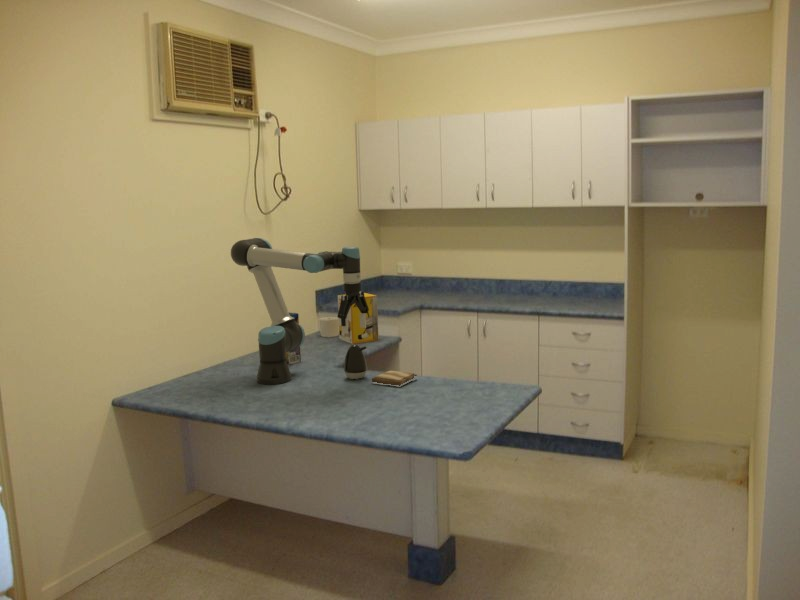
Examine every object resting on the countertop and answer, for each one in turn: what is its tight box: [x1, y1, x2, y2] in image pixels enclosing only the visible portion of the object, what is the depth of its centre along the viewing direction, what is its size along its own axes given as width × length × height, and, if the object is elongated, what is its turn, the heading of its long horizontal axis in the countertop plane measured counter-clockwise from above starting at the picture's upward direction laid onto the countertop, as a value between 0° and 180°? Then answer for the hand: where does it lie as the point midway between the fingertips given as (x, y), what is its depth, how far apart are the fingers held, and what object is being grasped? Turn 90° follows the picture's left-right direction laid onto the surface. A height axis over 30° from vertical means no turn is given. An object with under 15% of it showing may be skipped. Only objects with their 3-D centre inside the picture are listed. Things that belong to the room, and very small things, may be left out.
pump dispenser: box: [343, 343, 368, 380], centre depth 322 cm, size 10×10×15 cm
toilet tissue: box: [319, 316, 339, 338], centre depth 420 cm, size 11×12×10 cm
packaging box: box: [337, 292, 379, 345], centre depth 405 cm, size 16×16×25 cm
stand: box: [371, 369, 418, 386], centre depth 315 cm, size 14×14×3 cm
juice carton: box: [286, 311, 302, 365], centre depth 358 cm, size 12×8×24 cm, turn 43°
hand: (354, 330), depth 320 cm, fingers open, 13 cm apart
